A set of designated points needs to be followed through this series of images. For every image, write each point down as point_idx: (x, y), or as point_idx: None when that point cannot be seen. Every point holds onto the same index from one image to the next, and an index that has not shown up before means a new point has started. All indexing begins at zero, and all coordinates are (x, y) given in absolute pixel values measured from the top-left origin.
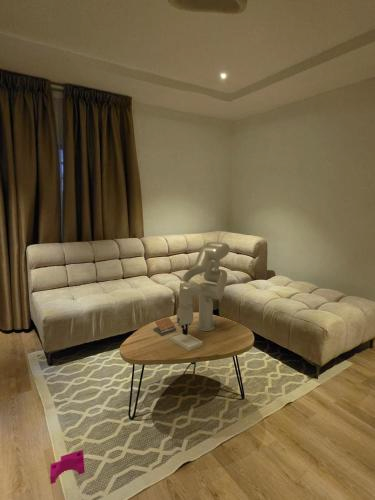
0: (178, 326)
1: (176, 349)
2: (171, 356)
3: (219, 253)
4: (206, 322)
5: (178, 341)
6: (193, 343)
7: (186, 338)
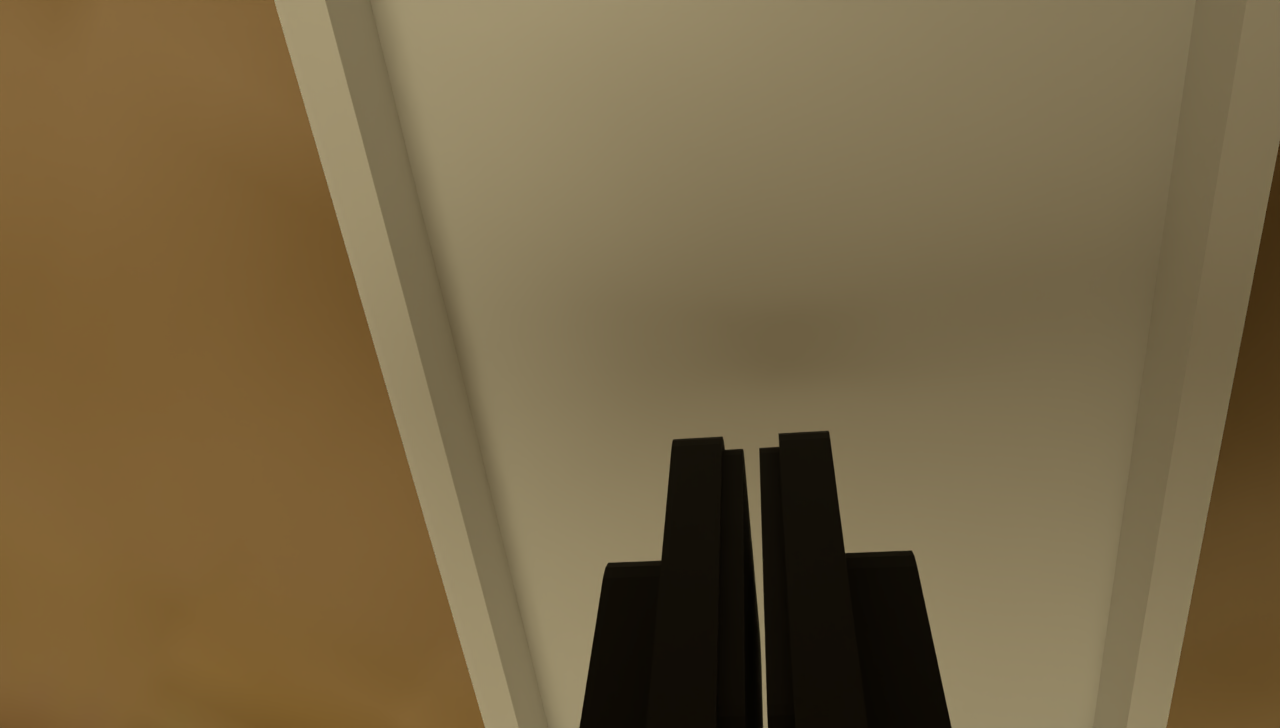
0: None
1: (251, 518)
2: (11, 692)
3: None
4: None
5: (394, 407)
6: None
7: (967, 186)
